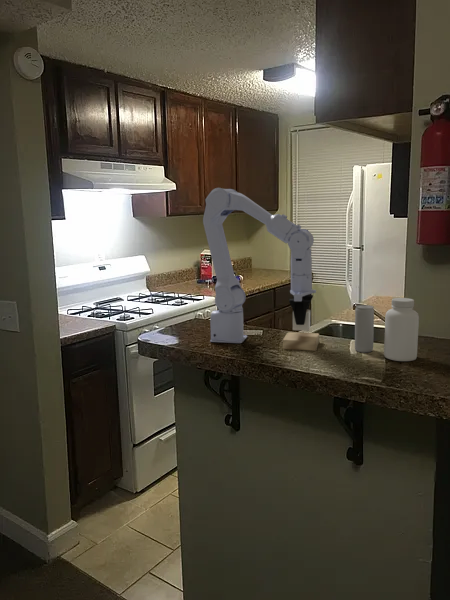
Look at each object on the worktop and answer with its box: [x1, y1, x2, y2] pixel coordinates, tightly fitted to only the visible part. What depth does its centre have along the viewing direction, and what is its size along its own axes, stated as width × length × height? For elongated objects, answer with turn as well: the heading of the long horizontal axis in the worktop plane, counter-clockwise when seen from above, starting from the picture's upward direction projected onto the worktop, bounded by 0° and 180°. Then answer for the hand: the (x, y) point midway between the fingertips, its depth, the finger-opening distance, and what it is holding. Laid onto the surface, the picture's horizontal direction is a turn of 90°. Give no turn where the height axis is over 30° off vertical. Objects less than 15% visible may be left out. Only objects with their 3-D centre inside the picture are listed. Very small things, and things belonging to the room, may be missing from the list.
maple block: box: [282, 331, 320, 351], centre depth 143 cm, size 9×9×3 cm
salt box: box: [292, 309, 311, 332], centre depth 141 cm, size 4×4×5 cm
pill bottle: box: [383, 297, 420, 362], centre depth 127 cm, size 8×8×15 cm
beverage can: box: [354, 304, 375, 353], centre depth 135 cm, size 5×5×12 cm
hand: (301, 322), depth 142 cm, fingers closed on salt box, 4 cm apart
